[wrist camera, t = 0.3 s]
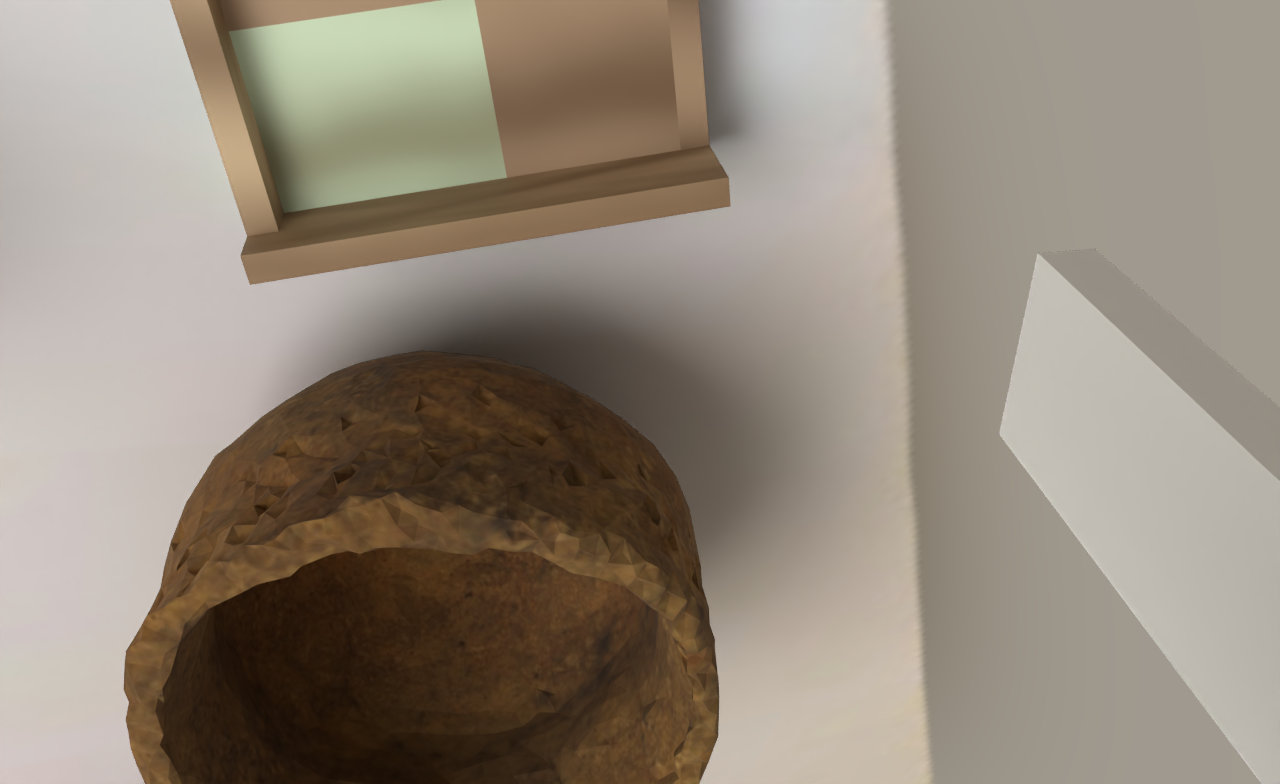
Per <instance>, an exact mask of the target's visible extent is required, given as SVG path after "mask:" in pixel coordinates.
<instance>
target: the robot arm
mask: <svg viewBox="0 0 1280 784" xmlns="http://www.w3.org/2000/svg"><path fill="white" fill-rule="evenodd" d="M999 435H1000V436H1001V437H1002V439H1003V440H1004V441H1005V443H1006V444H1007V445H1008V447H1009V448H1010V449H1011V451H1012V452H1013V453H1014V455H1015V456H1016V457H1017V459H1018V460H1019V461H1020V463H1021V464H1022V465H1023V467H1024V468H1025V469H1026V471H1027V472H1028V473H1029V475H1030V476H1031V477H1032V479H1033V480H1034V481H1035V483H1036V484H1037V485H1038V487H1039V488H1040V489H1041V491H1042V492H1043V493H1044V495H1045V496H1046V497H1047V498H1048V500H1049V501H1050V503H1051V504H1052V505H1053V507H1054V508H1055V509H1056V511H1057V512H1058V513H1059V515H1060V516H1061V517H1062V518H1063V520H1064V521H1065V522H1066V524H1067V525H1068V527H1069V528H1070V529H1071V530H1072V532H1073V533H1074V535H1075V536H1076V537H1077V539H1078V540H1079V541H1080V543H1081V544H1082V545H1083V547H1084V548H1085V549H1086V551H1087V552H1088V553H1089V555H1090V556H1091V557H1092V559H1093V560H1094V561H1095V563H1096V564H1097V565H1098V567H1099V568H1100V569H1101V571H1102V572H1103V573H1104V575H1105V576H1106V577H1107V578H1108V580H1109V581H1110V583H1111V584H1112V585H1113V586H1114V588H1115V589H1116V591H1117V592H1118V593H1119V594H1120V596H1121V597H1122V599H1123V600H1124V601H1125V603H1126V604H1127V605H1128V606H1129V608H1130V609H1131V611H1132V612H1133V613H1134V615H1135V616H1136V617H1137V619H1138V620H1139V621H1140V623H1141V624H1142V625H1143V626H1144V628H1145V629H1146V631H1147V632H1148V633H1149V634H1150V636H1151V637H1152V639H1153V640H1154V641H1155V643H1156V644H1157V645H1158V647H1159V648H1160V649H1161V651H1162V652H1163V653H1164V655H1165V656H1166V657H1167V659H1168V660H1169V661H1170V663H1171V664H1172V665H1173V667H1174V668H1175V669H1176V671H1177V672H1178V673H1179V674H1180V676H1181V677H1182V678H1183V680H1184V681H1185V683H1186V684H1187V685H1188V687H1189V688H1190V689H1191V691H1192V692H1193V693H1194V694H1195V696H1196V697H1197V699H1198V700H1199V701H1200V703H1201V704H1202V705H1203V706H1204V708H1205V709H1206V710H1207V712H1208V713H1209V715H1210V716H1211V717H1212V718H1213V720H1214V721H1215V723H1216V724H1217V725H1218V727H1219V728H1220V729H1221V730H1222V732H1223V733H1224V734H1225V736H1226V737H1227V739H1228V740H1229V741H1230V742H1231V744H1232V745H1233V747H1234V748H1235V749H1236V750H1237V752H1238V753H1239V754H1240V756H1241V757H1242V758H1243V760H1244V761H1245V762H1246V764H1247V765H1248V766H1249V768H1250V769H1251V770H1252V772H1253V773H1254V774H1255V776H1256V777H1257V778H1258V780H1259V781H1260V782H1261V784H1280V407H1279V406H1278V405H1277V404H1275V403H1274V402H1273V401H1272V400H1271V399H1270V398H1268V397H1267V396H1266V395H1265V394H1264V393H1263V392H1261V391H1260V390H1259V389H1258V388H1257V387H1256V386H1254V385H1253V384H1252V383H1251V382H1249V381H1248V380H1247V379H1246V378H1245V377H1244V376H1243V375H1241V374H1240V373H1239V372H1238V371H1237V370H1236V369H1235V368H1233V367H1232V366H1231V365H1230V364H1229V363H1227V362H1226V361H1225V360H1224V359H1223V358H1222V357H1220V356H1219V355H1218V354H1217V353H1216V352H1215V351H1214V350H1212V349H1211V348H1210V347H1209V346H1208V345H1206V344H1205V343H1204V342H1203V341H1202V340H1201V339H1199V338H1198V337H1197V336H1196V335H1195V334H1194V333H1193V332H1191V331H1190V330H1189V329H1188V328H1187V327H1186V326H1184V325H1183V324H1182V323H1181V322H1180V321H1178V320H1177V319H1176V318H1175V317H1174V316H1173V315H1171V314H1170V313H1169V312H1168V311H1167V310H1166V309H1164V308H1163V307H1162V306H1161V305H1160V304H1159V303H1158V302H1156V301H1155V300H1154V299H1153V298H1152V297H1151V296H1149V295H1148V294H1147V293H1146V292H1145V291H1144V290H1142V289H1141V288H1140V287H1139V286H1138V285H1137V284H1135V283H1134V282H1133V281H1132V280H1131V279H1130V278H1128V277H1127V276H1126V275H1125V274H1124V273H1122V272H1121V271H1120V270H1119V269H1118V268H1117V267H1115V266H1114V265H1113V264H1112V263H1111V262H1110V261H1109V260H1107V259H1106V258H1105V257H1104V256H1103V255H1101V254H1100V253H1099V252H1098V251H1097V250H1096V249H1087V250H1072V251H1058V252H1043V253H1038V254H1037V259H1036V264H1035V268H1034V273H1033V278H1032V282H1031V287H1030V292H1029V296H1028V301H1027V306H1026V310H1025V315H1024V320H1023V324H1022V329H1021V334H1020V339H1019V343H1018V348H1017V352H1016V357H1015V362H1014V366H1013V371H1012V376H1011V380H1010V385H1009V390H1008V394H1007V400H1006V404H1005V409H1004V414H1003V418H1002V423H1001V427H1000V432H999Z"/></svg>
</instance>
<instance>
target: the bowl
mask: <svg viewBox="0 0 1280 784" xmlns="http://www.w3.org/2000/svg"><path fill="white" fill-rule="evenodd" d="M124 691H125V694H126V696H127V698H128V700H129V706H128V711H127V716H126V723H127V728H128V732H129V739H130V746H131V750H132V753H133V755H134V758H135V761H136V764H137V766H138V768H139V771H140V773H141V775H142V778H143V780H144V782H145V784H699V783H700V780H701V778H702V776H703V773H704V771H705V769H706V766H707V764H708V762H709V759H710V756H711V754H712V751H713V748H714V746H715V743H716V740H717V738H718V721H719V683H718V674H717V665H716V656H715V639H714V636H713V633H712V630H711V627H710V624H709V607H708V604H707V600H706V597H705V594H704V591H703V588H702V579H701V566H700V561H699V556H698V551H697V546H696V541H695V536H694V531H693V526H692V521H691V516H690V511H689V507H688V505H687V502H686V500H685V497H684V495H683V493H682V490H681V488H680V485H679V483H678V481H677V478H676V476H675V474H674V473H673V471H672V470H671V469H670V467H669V466H668V464H667V463H666V461H665V460H664V459H663V457H662V456H661V454H660V453H659V451H658V450H657V449H656V447H655V446H654V444H652V443H651V442H650V441H649V440H648V439H646V438H645V437H644V436H643V435H641V434H640V433H639V432H638V431H637V430H635V429H634V428H633V427H632V426H631V425H629V424H628V423H627V422H626V421H625V420H623V419H622V418H621V417H619V416H618V415H616V414H615V413H613V412H612V411H610V410H609V409H607V408H606V407H604V406H603V405H601V404H600V403H598V402H597V401H595V400H594V399H592V398H590V397H588V396H586V395H584V394H582V393H580V392H578V391H577V390H575V389H573V388H571V387H569V386H567V385H566V384H564V383H562V382H560V381H558V380H556V379H554V378H552V377H549V376H547V375H545V374H543V373H541V372H539V371H537V370H535V369H531V368H527V367H523V366H518V365H515V364H512V363H509V362H505V361H502V360H499V359H496V358H492V357H482V356H472V355H463V354H453V353H443V352H432V351H417V352H410V353H404V354H397V355H392V356H388V357H383V358H379V359H374V360H370V361H366V362H361V363H358V364H355V365H353V366H350V367H347V368H345V369H342V370H340V371H337V372H334V373H332V374H330V375H328V376H327V377H325V378H323V379H322V380H320V381H318V382H316V383H315V384H313V385H311V386H310V387H308V388H306V389H305V390H303V391H301V392H300V393H298V394H296V395H295V396H293V397H291V398H290V399H288V400H286V401H285V402H283V403H282V404H280V405H279V406H277V407H276V408H274V409H273V410H272V411H270V412H269V413H267V414H266V415H264V416H263V417H262V418H260V419H259V420H258V421H257V422H256V423H255V424H254V425H252V426H251V427H250V428H249V429H248V430H247V431H246V432H244V433H243V434H242V435H241V436H240V437H239V438H238V439H236V440H235V441H234V442H233V443H232V444H231V445H229V446H228V447H227V448H225V449H224V450H223V451H221V452H220V453H219V454H217V455H216V456H215V457H214V459H213V461H212V462H211V464H210V465H209V467H208V469H207V470H206V472H205V474H204V475H203V477H202V478H201V480H200V482H199V483H198V485H197V486H196V488H195V490H194V491H193V493H192V495H191V496H190V498H189V499H188V501H187V503H186V505H185V507H184V510H183V513H182V515H181V518H180V520H179V523H178V525H177V528H176V530H175V533H174V536H173V538H172V541H171V544H170V548H169V552H168V555H167V559H166V563H165V567H164V572H163V578H162V584H161V588H160V591H159V593H158V595H157V597H156V599H155V601H154V604H153V606H152V607H151V609H150V611H149V613H148V615H147V616H146V618H145V620H144V622H143V624H142V626H141V628H140V629H139V631H138V633H137V634H136V636H135V638H134V639H133V641H132V643H131V644H130V646H129V647H128V649H127V651H126V658H125V673H124Z"/></svg>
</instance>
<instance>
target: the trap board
mask: <svg viewBox="0 0 1280 784" xmlns="http://www.w3.org/2000/svg"><path fill="white" fill-rule="evenodd" d="M170 2H171V5H172V8H173V11H174V14H175V17H176V20H177V23H178V27H179V30H180V33H181V36H182V39H183V42H184V45H185V48H186V51H187V54H188V57H189V60H190V63H191V66H192V69H193V72H194V75H195V78H196V81H197V84H198V87H199V91H200V94H201V97H202V100H203V103H204V106H205V109H206V112H207V115H208V118H209V121H210V124H211V127H212V130H213V133H214V136H215V139H216V142H217V145H218V148H219V151H220V154H221V158H222V161H223V164H224V167H225V170H226V173H227V176H228V179H229V182H230V185H231V188H232V191H233V194H234V197H235V200H236V203H237V206H238V209H239V212H240V215H241V218H242V221H243V225H244V228H245V231H246V234H247V239H246V242H245V245H244V247H243V250H242V253H241V259H242V262H243V265H244V268H245V271H246V274H247V277H248V280H249V283H250V285H251V284H257V283H263V282H269V281H275V280H282V279H288V278H294V277H300V276H306V275H312V274H318V273H324V272H331V271H337V270H343V269H349V268H355V267H361V266H367V265H373V264H380V263H386V262H392V261H398V260H404V259H410V258H416V257H422V256H429V255H435V254H441V253H447V252H453V251H459V250H465V249H471V248H478V247H484V246H490V245H496V244H502V243H508V242H514V241H520V240H527V239H533V238H539V237H545V236H551V235H557V234H563V233H569V232H576V231H582V230H588V229H594V228H600V227H606V226H612V225H618V224H624V223H631V222H637V221H643V220H649V219H655V218H661V217H667V216H673V215H680V214H686V213H692V212H698V211H704V210H710V209H716V208H722V207H729V206H730V193H729V178H728V176H727V174H726V172H725V171H724V169H723V167H722V166H721V164H720V162H719V161H718V159H717V157H716V156H715V154H714V152H713V151H712V149H711V147H710V146H709V135H708V122H707V108H706V95H705V82H704V69H703V55H702V42H701V29H700V16H699V2H698V0H170Z"/></svg>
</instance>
